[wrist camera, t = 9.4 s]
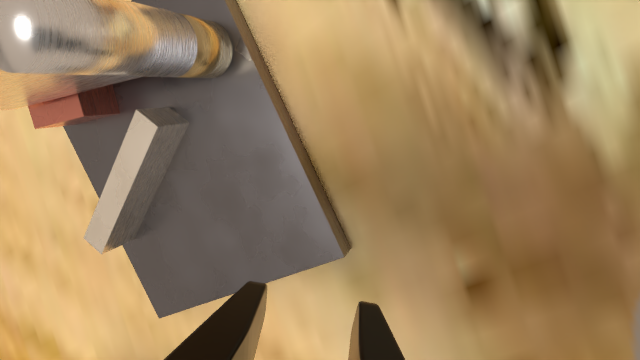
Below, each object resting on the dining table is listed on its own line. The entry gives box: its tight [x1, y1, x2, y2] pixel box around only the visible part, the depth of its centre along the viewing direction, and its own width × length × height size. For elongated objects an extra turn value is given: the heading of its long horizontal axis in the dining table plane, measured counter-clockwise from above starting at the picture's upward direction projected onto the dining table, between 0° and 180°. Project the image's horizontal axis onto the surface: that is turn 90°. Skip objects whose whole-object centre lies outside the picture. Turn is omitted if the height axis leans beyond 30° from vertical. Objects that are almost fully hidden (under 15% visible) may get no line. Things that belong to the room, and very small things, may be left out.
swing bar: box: [0, 0, 198, 110], centre depth 17 cm, size 13×3×7 cm, turn 100°
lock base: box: [28, 0, 351, 318], centre depth 22 cm, size 17×14×4 cm
